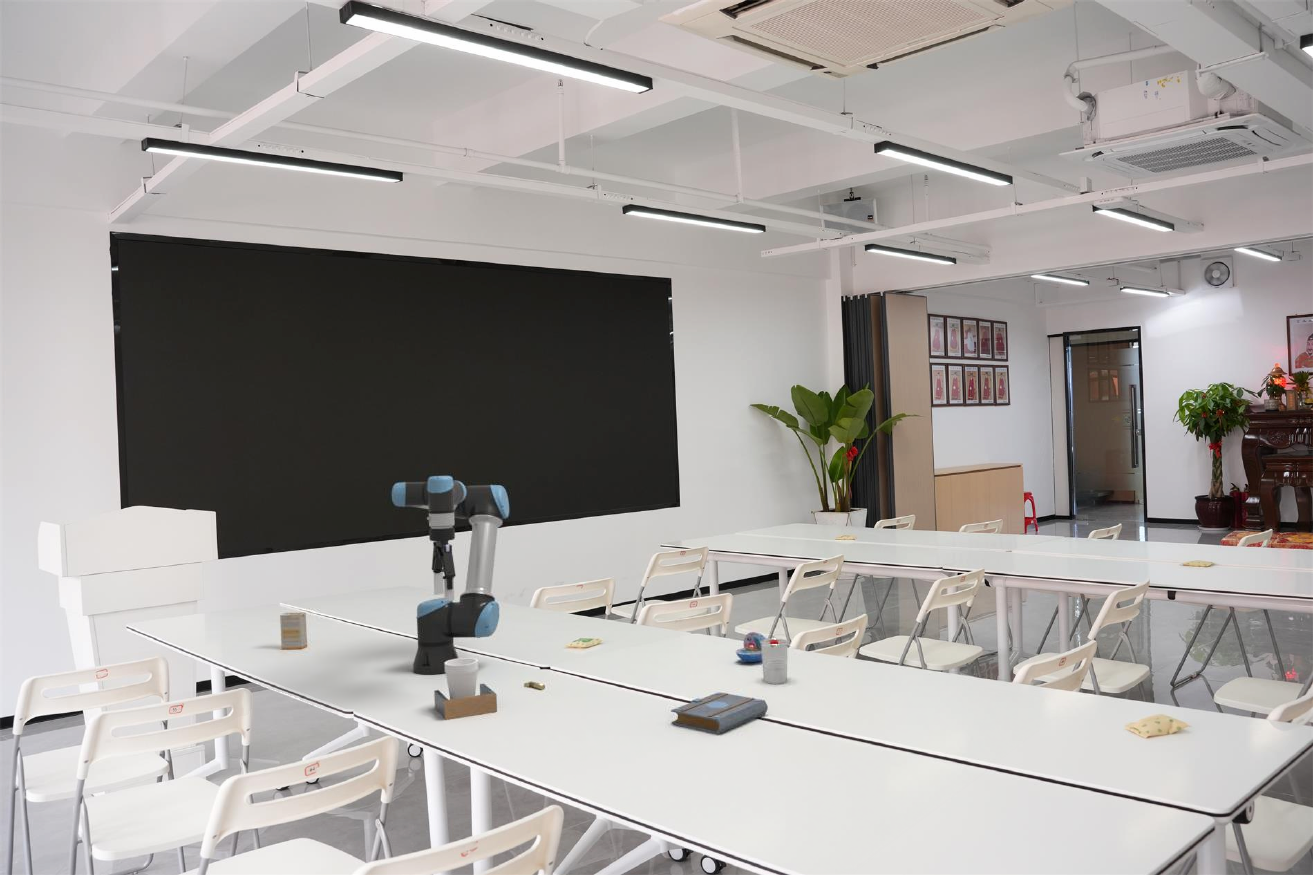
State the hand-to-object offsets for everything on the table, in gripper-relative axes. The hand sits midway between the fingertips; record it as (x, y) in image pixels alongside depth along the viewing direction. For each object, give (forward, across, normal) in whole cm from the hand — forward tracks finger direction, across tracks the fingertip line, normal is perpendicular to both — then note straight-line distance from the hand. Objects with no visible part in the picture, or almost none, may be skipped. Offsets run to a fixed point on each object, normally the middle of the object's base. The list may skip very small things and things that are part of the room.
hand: (444, 597), depth 293 cm
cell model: (+29, +17, +97) cm, 103 cm away
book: (+29, +68, +56) cm, 93 cm away
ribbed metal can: (+29, +42, +90) cm, 103 cm away
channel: (+29, +21, 0) cm, 36 cm away
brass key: (+29, +10, +25) cm, 39 cm away
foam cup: (+29, +19, 0) cm, 35 cm away
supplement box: (+29, -97, -35) cm, 107 cm away
